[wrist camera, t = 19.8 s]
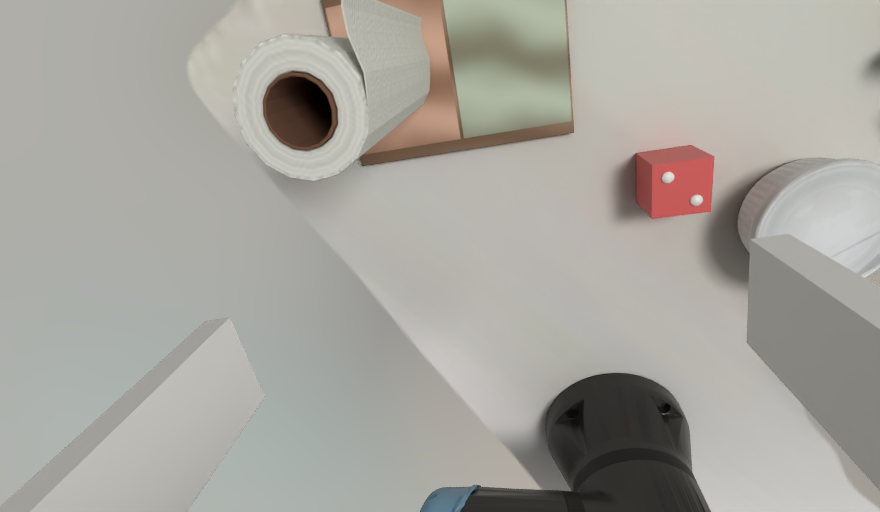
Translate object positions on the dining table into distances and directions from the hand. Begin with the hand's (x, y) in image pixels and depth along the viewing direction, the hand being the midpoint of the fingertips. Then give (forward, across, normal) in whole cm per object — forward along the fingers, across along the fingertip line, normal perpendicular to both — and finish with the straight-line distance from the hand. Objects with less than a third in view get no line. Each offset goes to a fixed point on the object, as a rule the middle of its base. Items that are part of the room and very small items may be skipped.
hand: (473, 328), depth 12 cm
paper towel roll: (+31, +6, -7) cm, 32 cm away
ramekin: (+32, -25, +12) cm, 43 cm away
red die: (+32, -15, +6) cm, 36 cm away
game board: (+31, +2, -6) cm, 32 cm away
